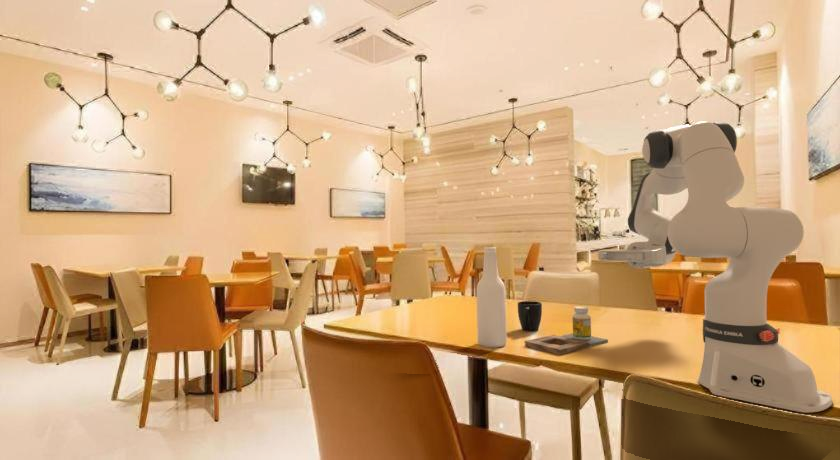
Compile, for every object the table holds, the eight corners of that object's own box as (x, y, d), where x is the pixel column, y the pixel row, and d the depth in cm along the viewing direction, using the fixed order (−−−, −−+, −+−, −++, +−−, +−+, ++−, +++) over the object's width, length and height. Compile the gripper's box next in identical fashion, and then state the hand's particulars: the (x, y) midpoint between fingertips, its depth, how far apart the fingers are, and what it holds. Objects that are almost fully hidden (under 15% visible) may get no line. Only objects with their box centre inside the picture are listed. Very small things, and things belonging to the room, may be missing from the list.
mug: (513, 333, 154) (512, 305, 154) (520, 326, 165) (520, 300, 165) (538, 335, 150) (537, 306, 150) (544, 328, 161) (543, 301, 161)
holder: (589, 347, 134) (589, 342, 134) (560, 355, 126) (560, 349, 126) (553, 339, 144) (553, 334, 144) (525, 346, 137) (525, 341, 137)
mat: (607, 342, 140) (607, 339, 140) (589, 346, 134) (589, 344, 134) (575, 335, 149) (574, 332, 149) (557, 339, 144) (556, 336, 144)
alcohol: (476, 347, 136) (474, 248, 137) (479, 340, 145) (477, 246, 145) (505, 348, 134) (503, 247, 134) (507, 341, 143) (505, 246, 143)
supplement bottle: (594, 339, 140) (594, 308, 140) (580, 340, 139) (579, 309, 139) (583, 335, 145) (583, 305, 145) (569, 337, 144) (568, 306, 144)
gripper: (611, 245, 159) (586, 246, 152) (670, 245, 143) (646, 246, 135) (611, 263, 159) (587, 265, 152) (671, 265, 142) (646, 267, 135)
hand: (615, 256), depth 143 cm, fingers open, 8 cm apart
